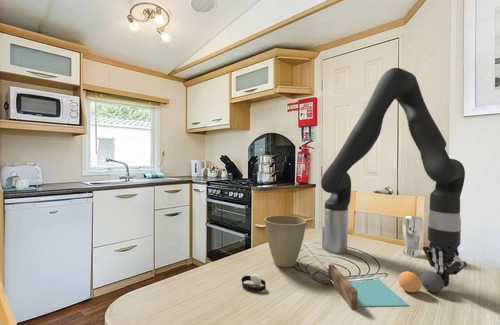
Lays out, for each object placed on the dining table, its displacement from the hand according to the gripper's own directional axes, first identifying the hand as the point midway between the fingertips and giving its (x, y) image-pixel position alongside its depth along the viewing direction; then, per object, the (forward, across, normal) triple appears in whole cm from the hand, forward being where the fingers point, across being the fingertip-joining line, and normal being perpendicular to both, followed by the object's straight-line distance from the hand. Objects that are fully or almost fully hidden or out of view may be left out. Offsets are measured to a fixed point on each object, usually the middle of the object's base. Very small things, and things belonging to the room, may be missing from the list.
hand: (442, 285), depth 73 cm
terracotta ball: (-2, 0, +11) cm, 11 cm away
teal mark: (+1, 0, +23) cm, 23 cm away
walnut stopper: (+1, 0, +31) cm, 31 cm away
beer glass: (+2, +26, -11) cm, 28 cm away
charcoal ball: (-2, -1, +4) cm, 4 cm away
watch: (+2, +4, +55) cm, 55 cm away
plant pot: (+2, +21, +42) cm, 47 cm away
